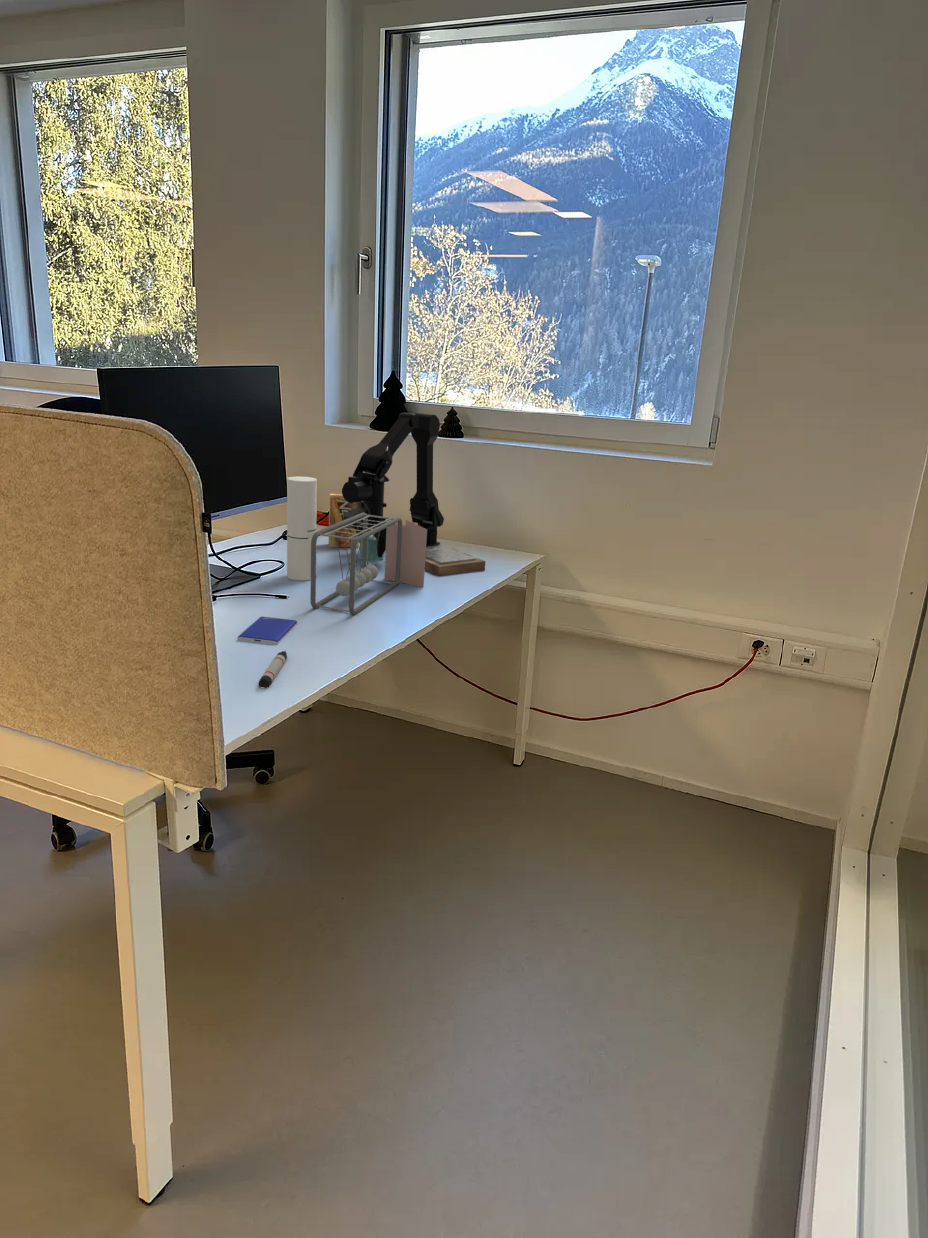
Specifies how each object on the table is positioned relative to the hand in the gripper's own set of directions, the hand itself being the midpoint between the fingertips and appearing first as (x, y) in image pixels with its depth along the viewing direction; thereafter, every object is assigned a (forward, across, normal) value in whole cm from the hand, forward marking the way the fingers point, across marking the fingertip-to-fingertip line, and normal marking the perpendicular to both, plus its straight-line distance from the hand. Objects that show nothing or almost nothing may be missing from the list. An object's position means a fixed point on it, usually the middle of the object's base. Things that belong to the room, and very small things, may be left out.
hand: (371, 553), depth 220 cm
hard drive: (+2, +43, -50) cm, 66 cm away
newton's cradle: (+2, +29, -21) cm, 36 cm away
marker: (+2, +62, -57) cm, 84 cm away
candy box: (+2, -16, 0) cm, 16 cm away
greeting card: (+2, +23, -4) cm, 23 cm away
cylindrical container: (+2, +9, -26) cm, 28 cm away
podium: (+2, +14, +16) cm, 21 cm away
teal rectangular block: (+2, 0, 0) cm, 2 cm away
